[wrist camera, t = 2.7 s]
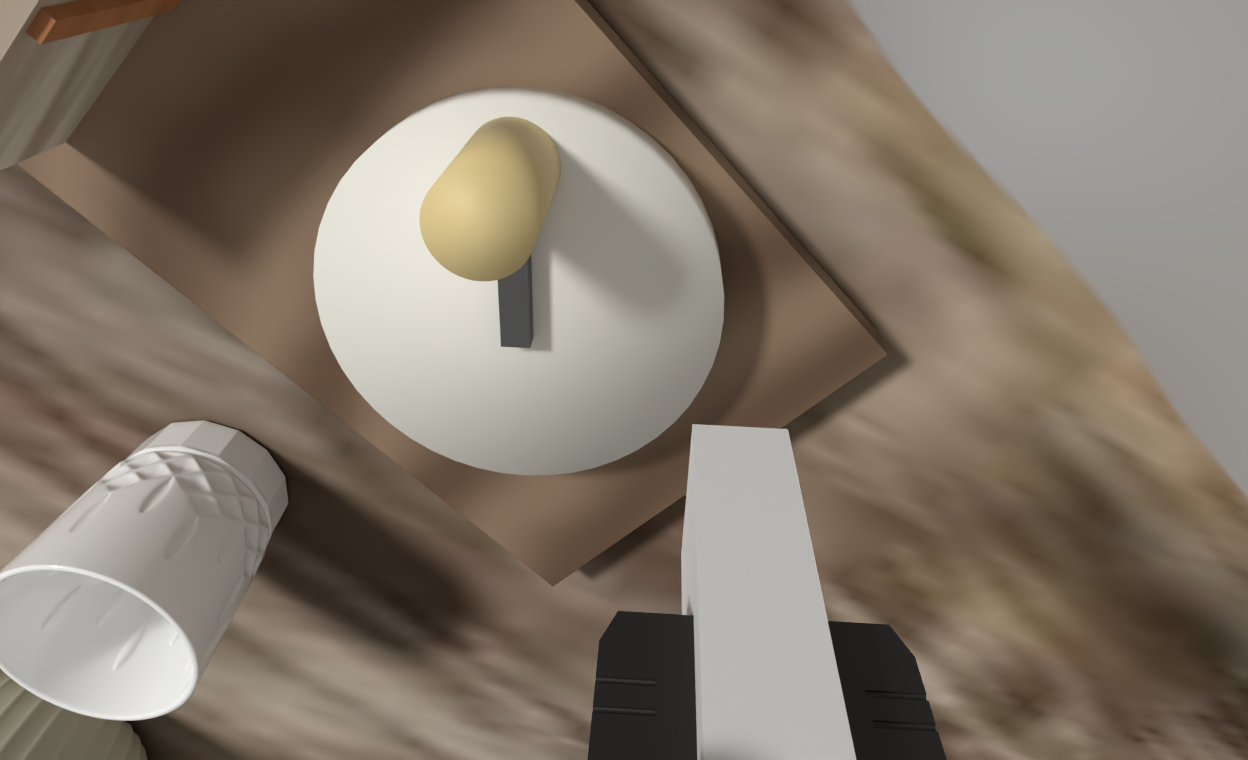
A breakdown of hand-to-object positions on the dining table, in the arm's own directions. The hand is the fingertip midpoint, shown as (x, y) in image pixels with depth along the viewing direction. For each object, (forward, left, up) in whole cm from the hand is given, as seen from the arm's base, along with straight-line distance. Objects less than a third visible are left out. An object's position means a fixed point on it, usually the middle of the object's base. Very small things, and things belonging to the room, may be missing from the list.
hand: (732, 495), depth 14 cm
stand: (-3, +8, -19) cm, 21 cm away
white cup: (-16, +21, -19) cm, 33 cm away
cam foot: (-4, +6, -17) cm, 18 cm away
